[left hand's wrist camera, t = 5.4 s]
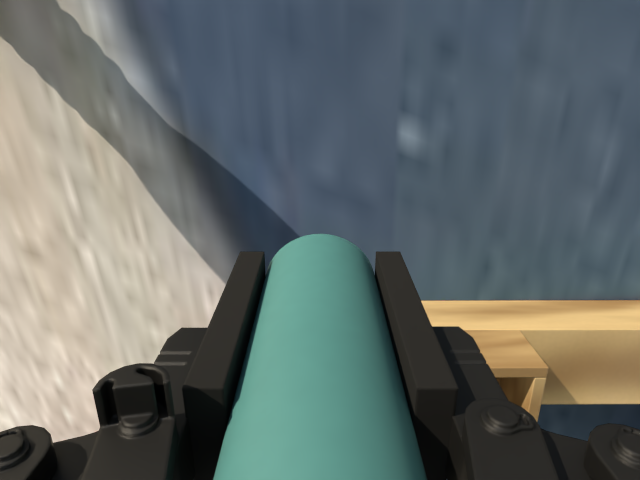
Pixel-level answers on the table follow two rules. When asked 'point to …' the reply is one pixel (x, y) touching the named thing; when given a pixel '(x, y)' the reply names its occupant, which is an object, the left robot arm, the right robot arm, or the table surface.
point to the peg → (320, 376)
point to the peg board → (553, 348)
